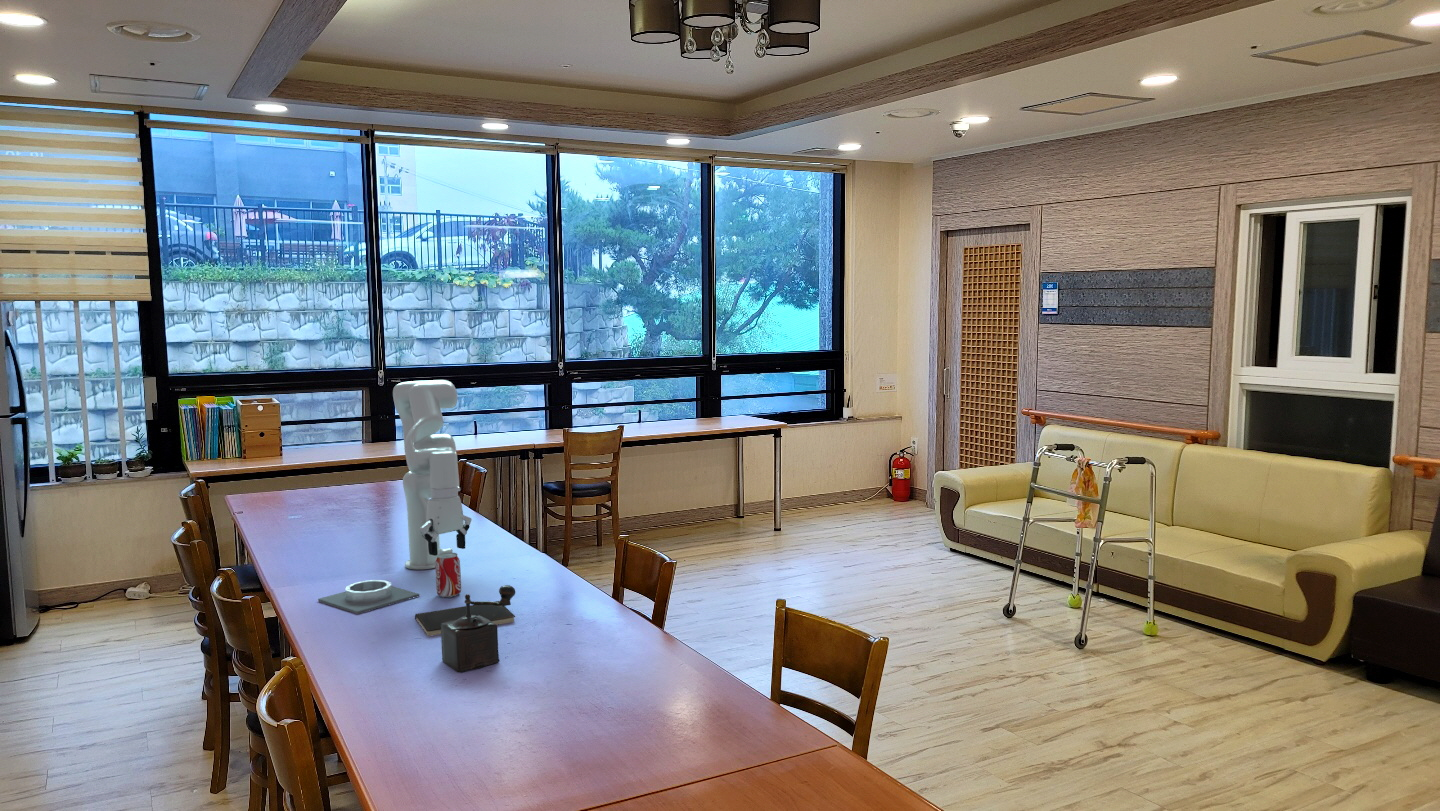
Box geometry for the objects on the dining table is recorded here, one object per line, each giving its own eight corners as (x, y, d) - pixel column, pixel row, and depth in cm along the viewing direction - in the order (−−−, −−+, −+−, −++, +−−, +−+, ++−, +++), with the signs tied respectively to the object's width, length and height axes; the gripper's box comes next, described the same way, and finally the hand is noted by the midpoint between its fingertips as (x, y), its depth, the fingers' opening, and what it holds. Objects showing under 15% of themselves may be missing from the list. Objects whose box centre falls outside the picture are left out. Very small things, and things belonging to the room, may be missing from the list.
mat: (379, 585, 303) (379, 582, 303) (419, 596, 291) (419, 593, 290) (318, 601, 287) (318, 598, 287) (357, 614, 275) (357, 611, 275)
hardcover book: (515, 624, 266) (515, 615, 266) (427, 639, 256) (427, 630, 255) (499, 608, 280) (498, 600, 280) (415, 621, 270) (414, 613, 269)
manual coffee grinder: (459, 674, 230) (456, 598, 228) (440, 661, 239) (437, 587, 237) (521, 658, 239) (518, 585, 237) (500, 646, 248) (497, 575, 246)
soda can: (454, 599, 287) (452, 558, 286) (432, 598, 289) (430, 557, 288) (465, 592, 294) (463, 552, 293) (443, 591, 296) (441, 551, 294)
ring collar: (375, 587, 298) (375, 577, 297) (400, 594, 290) (399, 584, 290) (337, 597, 288) (336, 587, 288) (361, 605, 280) (361, 595, 280)
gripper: (460, 487, 297) (463, 544, 299) (410, 496, 284) (414, 556, 285) (476, 489, 293) (479, 547, 294) (426, 499, 279) (430, 559, 280)
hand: (447, 551), depth 290 cm, fingers open, 9 cm apart
